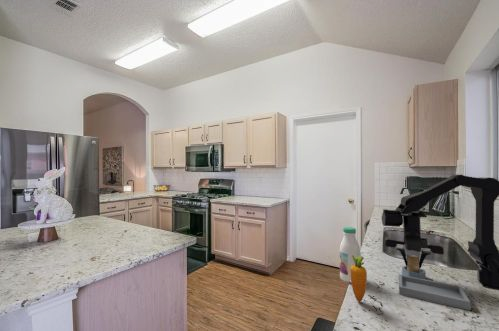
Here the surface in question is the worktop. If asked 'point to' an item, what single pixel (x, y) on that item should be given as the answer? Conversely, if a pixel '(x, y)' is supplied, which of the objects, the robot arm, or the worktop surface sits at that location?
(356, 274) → the carrot
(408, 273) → the blue-grey socket block
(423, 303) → the worktop surface
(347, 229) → the milk bottle
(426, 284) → the tray
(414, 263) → the wooden pin
